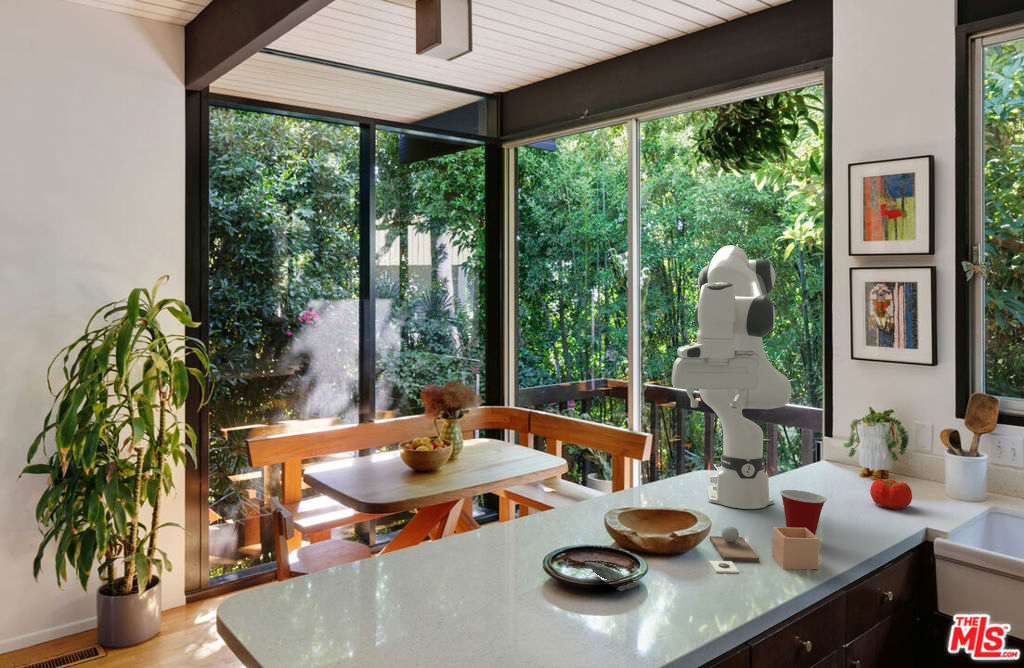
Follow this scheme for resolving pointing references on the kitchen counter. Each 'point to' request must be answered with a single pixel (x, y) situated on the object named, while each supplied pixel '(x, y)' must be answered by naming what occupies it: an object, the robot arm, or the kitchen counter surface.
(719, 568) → the tile
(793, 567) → the terracotta open box
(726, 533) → the grey ball
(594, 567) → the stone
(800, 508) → the plastic cup
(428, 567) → the kitchen counter surface
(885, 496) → the tomato
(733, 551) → the walnut board
